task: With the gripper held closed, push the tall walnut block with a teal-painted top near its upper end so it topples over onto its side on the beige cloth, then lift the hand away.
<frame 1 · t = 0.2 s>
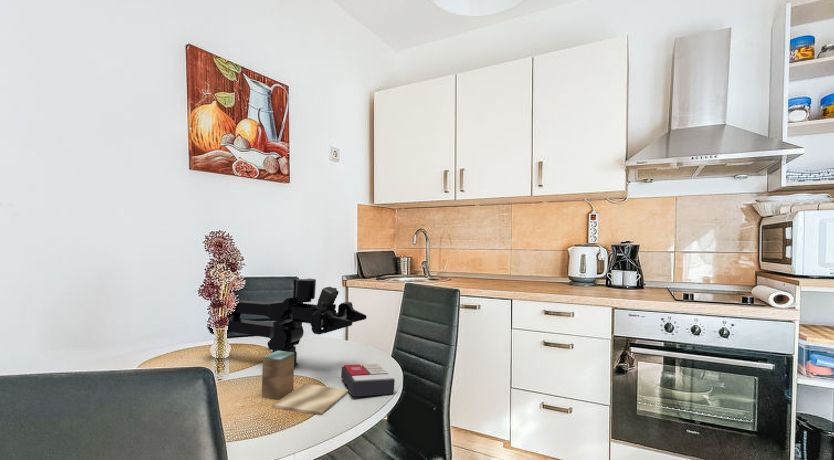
hand: (359, 320, 111), 16 cm above the table, tool horizontal, fingers open, 9 cm apart
walnut block: (277, 394, 98), on the table
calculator: (366, 386, 104), on the table, touching beige cloth
beige cloth: (312, 399, 95), on the table
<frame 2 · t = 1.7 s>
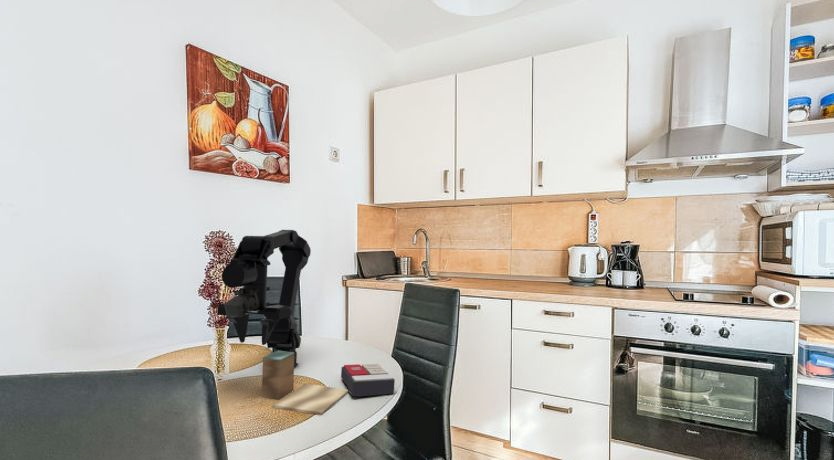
hand: (253, 343, 100), 12 cm above the table, tool pointing down, fingers open, 6 cm apart
nothing on the table moved.
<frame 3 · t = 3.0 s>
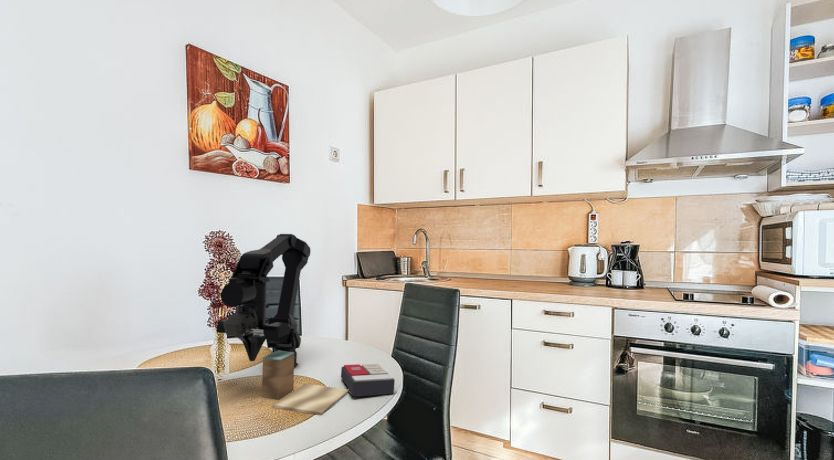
hand: (252, 360, 100), 8 cm above the table, tool pointing down, fingers closed
nothing on the table moved.
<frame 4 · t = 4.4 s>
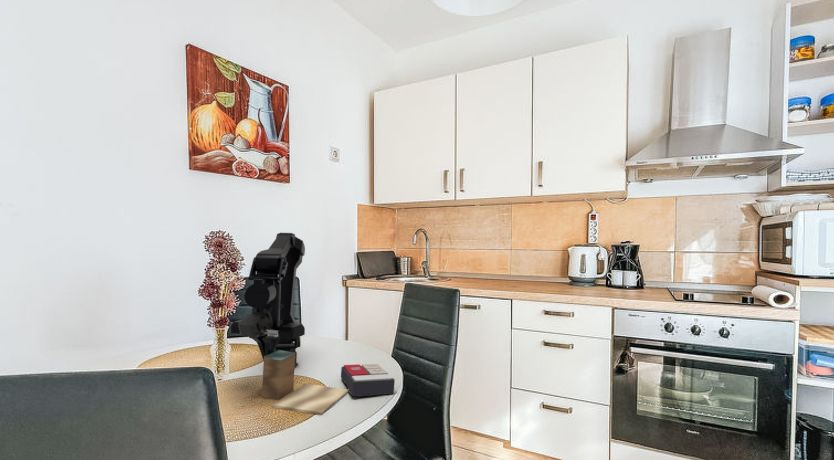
hand: (266, 362, 99), 8 cm above the table, tool pointing down, fingers closed
walnut block: (277, 393, 98), on the table, touching gripper
everything else where it was.
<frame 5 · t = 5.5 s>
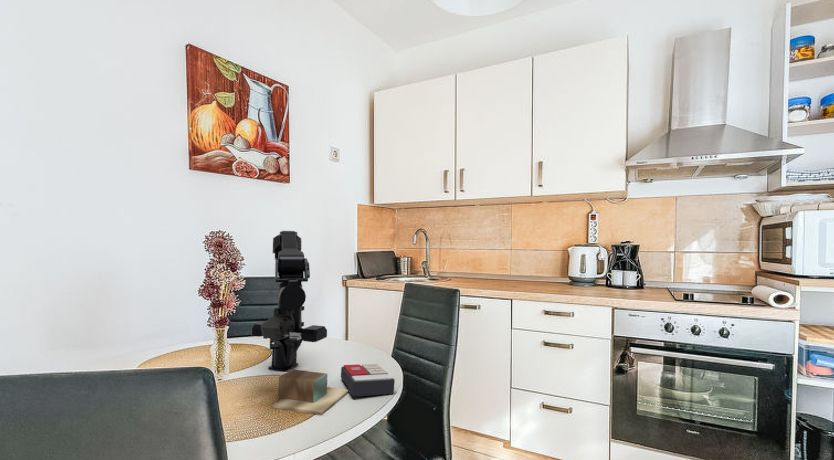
hand: (288, 365, 97), 8 cm above the table, tool pointing down, fingers closed
walnut block: (285, 382, 97), point 3 cm above the table, tilted 90°, touching beige cloth
everything else where it was.
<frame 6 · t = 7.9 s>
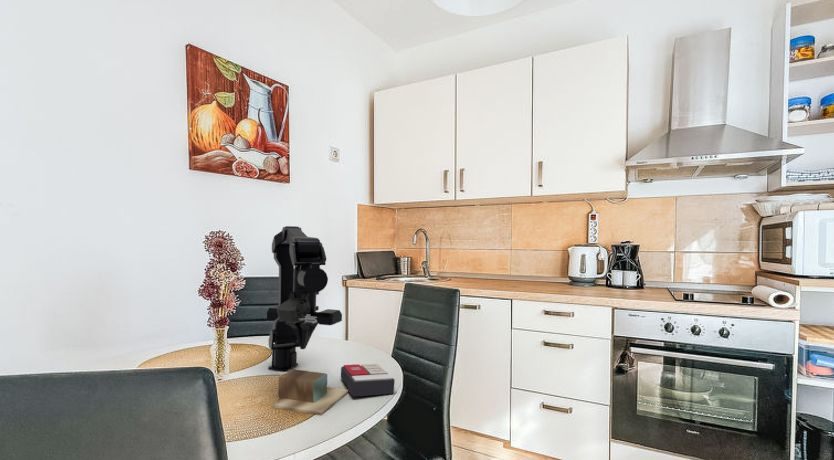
hand: (303, 348, 97), 12 cm above the table, tool pointing down, fingers closed
nothing on the table moved.
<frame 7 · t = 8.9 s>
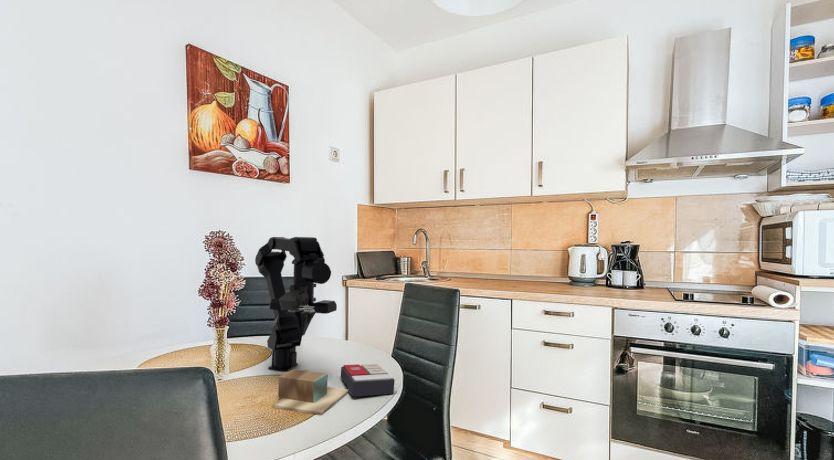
hand: (302, 335, 110), 12 cm above the table, tool pointing down, fingers closed
nothing on the table moved.
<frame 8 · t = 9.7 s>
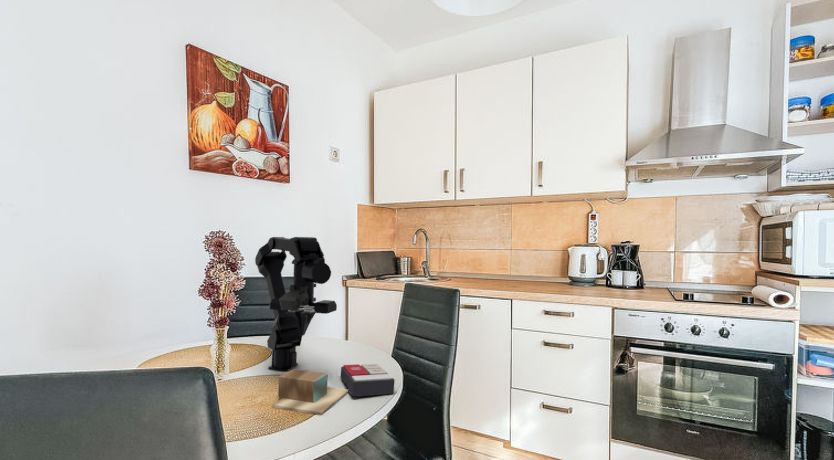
hand: (302, 335, 110), 12 cm above the table, tool pointing down, fingers closed
nothing on the table moved.
at the end: walnut block tilted 90°; walnut block inside the target area (1.7 cm from its centre), point 3.1 cm above the table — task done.
